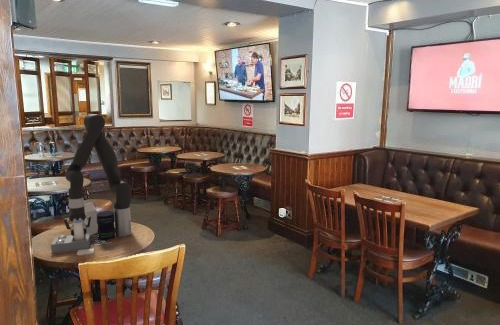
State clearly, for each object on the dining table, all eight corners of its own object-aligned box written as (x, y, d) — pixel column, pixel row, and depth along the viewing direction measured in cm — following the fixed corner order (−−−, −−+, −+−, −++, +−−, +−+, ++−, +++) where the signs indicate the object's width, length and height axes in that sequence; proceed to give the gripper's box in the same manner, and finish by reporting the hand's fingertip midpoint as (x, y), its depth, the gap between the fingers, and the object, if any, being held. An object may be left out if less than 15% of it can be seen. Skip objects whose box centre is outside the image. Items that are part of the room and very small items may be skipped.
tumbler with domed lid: (85, 242, 205) (83, 216, 203) (85, 246, 200) (82, 219, 198) (74, 244, 203) (72, 217, 201) (74, 247, 198) (71, 220, 196)
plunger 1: (66, 243, 204) (65, 234, 203) (65, 245, 201) (64, 236, 200) (60, 244, 203) (59, 235, 202) (59, 246, 200) (58, 237, 199)
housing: (90, 241, 209) (89, 233, 208) (88, 249, 198) (87, 240, 197) (55, 245, 203) (55, 236, 203) (51, 253, 192) (50, 244, 191)
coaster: (94, 249, 198) (94, 248, 198) (93, 253, 192) (93, 252, 192) (78, 251, 195) (78, 250, 195) (76, 255, 190) (76, 254, 190)
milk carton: (98, 232, 224) (96, 203, 220) (87, 236, 218) (85, 205, 215) (91, 230, 227) (89, 201, 224) (80, 233, 221) (78, 203, 218)
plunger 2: (64, 248, 198) (63, 239, 197) (63, 250, 195) (62, 241, 194) (58, 249, 197) (57, 239, 196) (57, 251, 194) (56, 241, 193)
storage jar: (115, 233, 222) (114, 210, 219) (115, 239, 212) (113, 215, 210) (98, 235, 218) (96, 211, 216) (97, 241, 209) (95, 216, 207)
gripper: (61, 208, 192) (64, 239, 195) (90, 206, 197) (92, 235, 200) (63, 205, 199) (65, 234, 202) (91, 202, 204) (93, 231, 207)
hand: (79, 235), depth 201 cm, fingers closed on tumbler with domed lid, 5 cm apart
